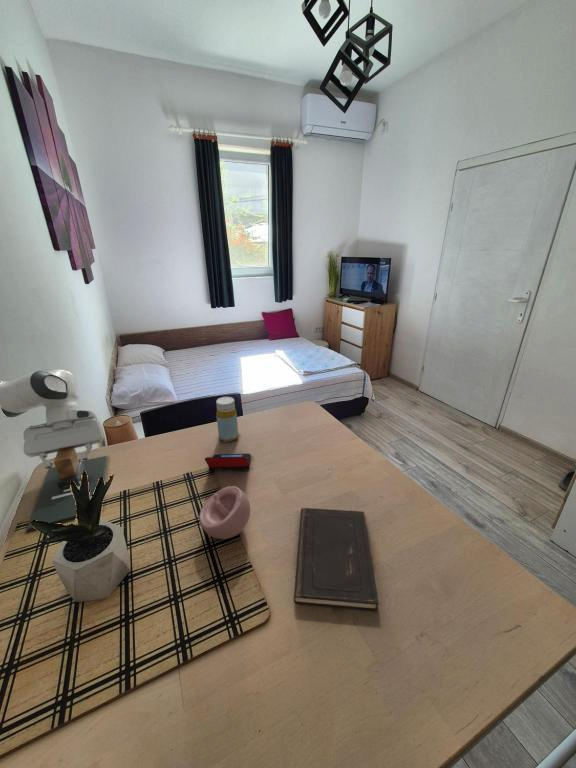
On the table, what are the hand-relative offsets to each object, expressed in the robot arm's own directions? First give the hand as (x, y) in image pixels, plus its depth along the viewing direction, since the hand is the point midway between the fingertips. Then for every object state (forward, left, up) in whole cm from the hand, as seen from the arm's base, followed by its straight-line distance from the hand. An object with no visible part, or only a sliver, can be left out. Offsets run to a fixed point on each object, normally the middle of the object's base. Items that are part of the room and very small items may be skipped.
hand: (67, 463), depth 96 cm
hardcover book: (+58, -56, -5) cm, 81 cm away
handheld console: (+45, -15, -5) cm, 48 cm away
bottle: (+49, +2, -5) cm, 49 cm away
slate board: (+1, -6, -5) cm, 8 cm away
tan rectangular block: (0, 0, -4) cm, 4 cm away
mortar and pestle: (+38, -39, -5) cm, 55 cm away
